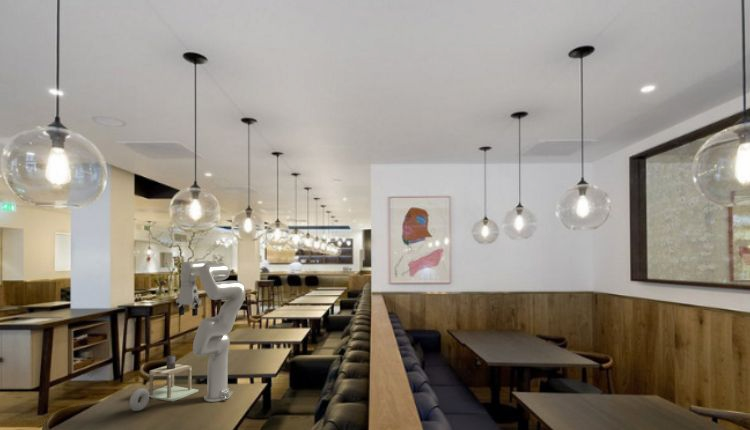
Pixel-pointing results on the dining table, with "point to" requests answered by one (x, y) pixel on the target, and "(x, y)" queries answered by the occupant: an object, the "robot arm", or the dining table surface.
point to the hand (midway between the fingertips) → (188, 315)
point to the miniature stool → (170, 374)
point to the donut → (144, 401)
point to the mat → (172, 393)
